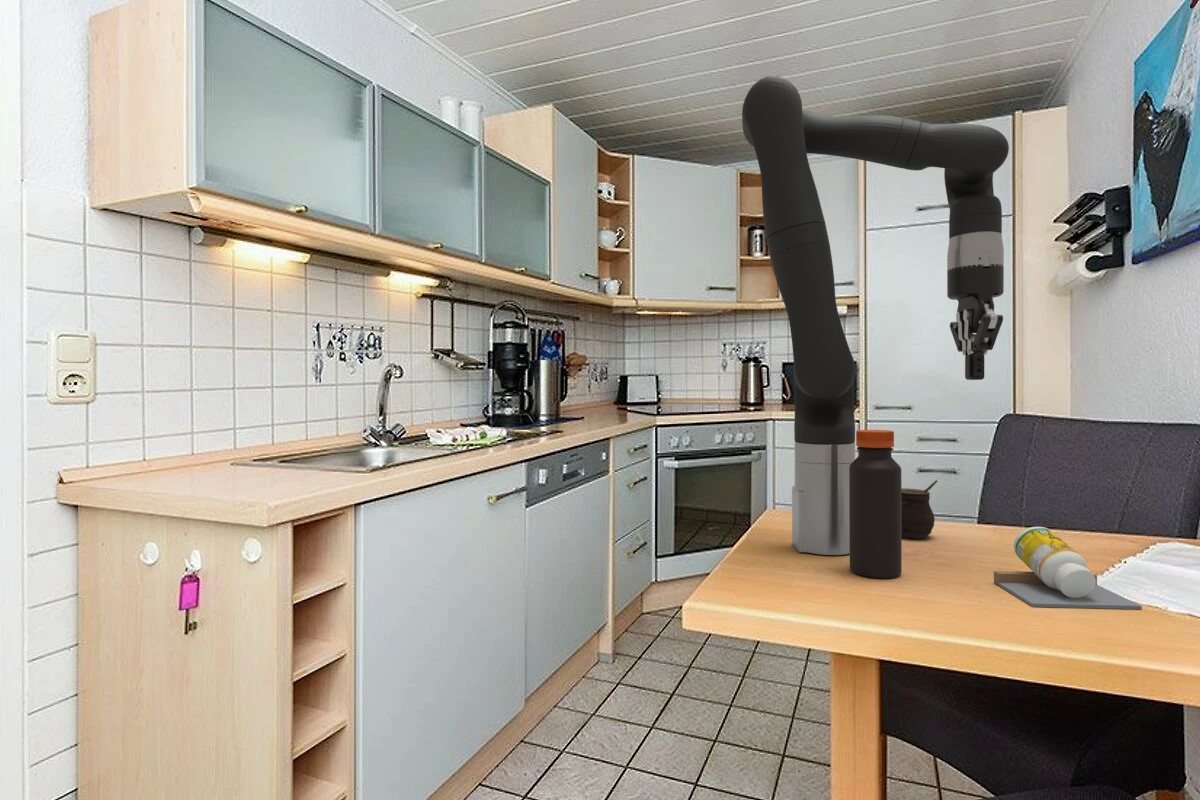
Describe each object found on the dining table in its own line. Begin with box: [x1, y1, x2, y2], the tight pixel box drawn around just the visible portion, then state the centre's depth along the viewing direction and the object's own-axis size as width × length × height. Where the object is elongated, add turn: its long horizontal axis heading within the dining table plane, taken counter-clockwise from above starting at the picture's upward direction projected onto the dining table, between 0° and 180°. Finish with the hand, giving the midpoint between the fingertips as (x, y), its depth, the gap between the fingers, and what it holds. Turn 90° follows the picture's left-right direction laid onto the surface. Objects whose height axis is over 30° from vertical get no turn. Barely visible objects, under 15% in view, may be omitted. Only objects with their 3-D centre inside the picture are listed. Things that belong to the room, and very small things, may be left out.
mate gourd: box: [901, 479, 938, 540], centre depth 115 cm, size 7×8×10 cm
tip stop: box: [993, 570, 1143, 610], centre depth 82 cm, size 12×9×2 cm
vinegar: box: [849, 429, 903, 580], centre depth 93 cm, size 7×7×20 cm
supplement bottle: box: [1013, 526, 1096, 598], centre depth 84 cm, size 5×5×10 cm
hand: (974, 379), depth 102 cm, fingers closed
